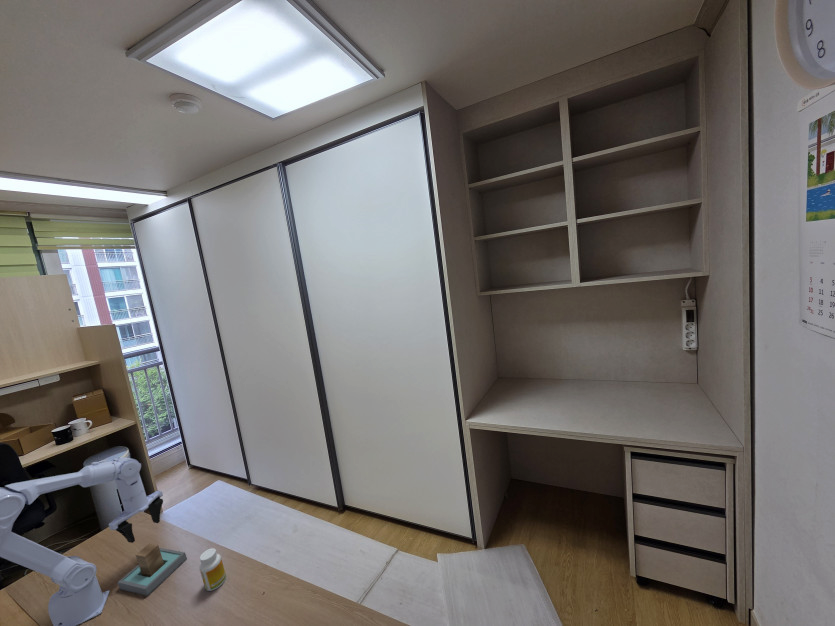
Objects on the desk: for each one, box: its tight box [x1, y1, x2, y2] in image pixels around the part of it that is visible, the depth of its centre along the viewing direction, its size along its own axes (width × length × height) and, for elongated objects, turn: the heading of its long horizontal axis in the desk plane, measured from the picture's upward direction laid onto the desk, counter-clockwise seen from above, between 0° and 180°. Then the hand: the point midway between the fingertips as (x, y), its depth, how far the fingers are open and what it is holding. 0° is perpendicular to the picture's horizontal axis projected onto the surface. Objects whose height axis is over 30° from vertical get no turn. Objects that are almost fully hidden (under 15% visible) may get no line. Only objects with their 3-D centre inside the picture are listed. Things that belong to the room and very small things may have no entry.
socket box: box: [117, 547, 188, 597], centre depth 103 cm, size 12×12×2 cm
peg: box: [135, 543, 164, 578], centre depth 102 cm, size 4×4×8 cm
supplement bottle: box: [199, 547, 227, 592], centre depth 96 cm, size 5×5×10 cm
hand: (144, 531), depth 107 cm, fingers open, 7 cm apart
